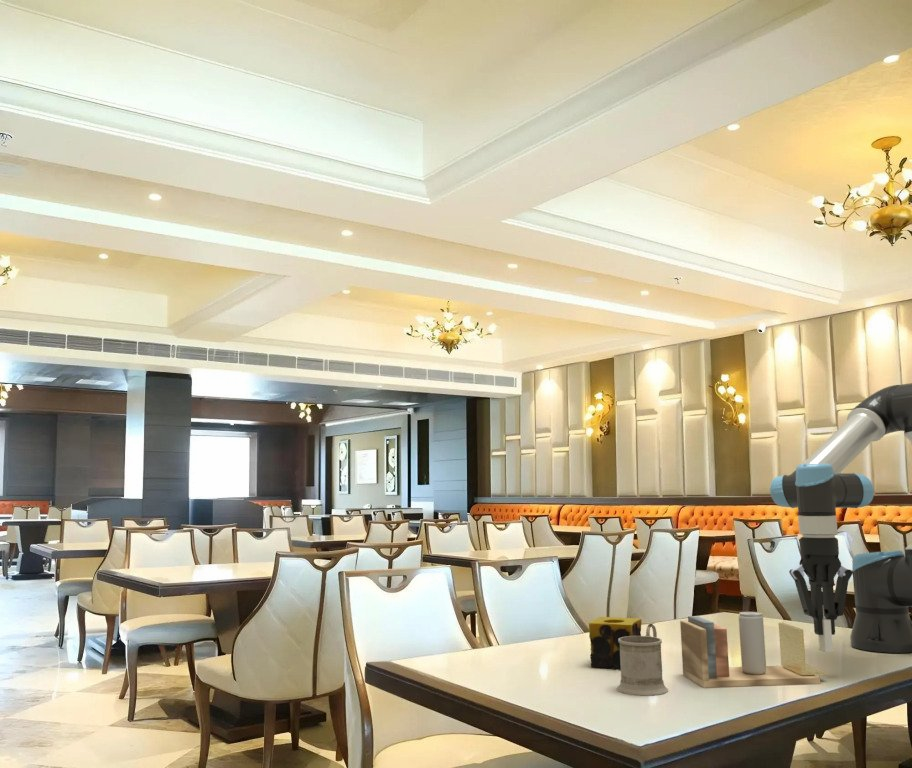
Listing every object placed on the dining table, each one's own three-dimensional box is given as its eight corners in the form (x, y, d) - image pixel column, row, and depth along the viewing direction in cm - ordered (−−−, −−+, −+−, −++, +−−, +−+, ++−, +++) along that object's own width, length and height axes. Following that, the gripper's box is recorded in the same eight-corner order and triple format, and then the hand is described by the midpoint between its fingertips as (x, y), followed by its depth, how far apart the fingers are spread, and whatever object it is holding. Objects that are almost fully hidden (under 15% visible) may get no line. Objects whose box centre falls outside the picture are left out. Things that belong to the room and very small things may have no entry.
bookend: (804, 665, 175) (801, 622, 177) (825, 674, 167) (822, 628, 168) (781, 666, 175) (778, 622, 176) (801, 675, 166) (798, 629, 167)
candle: (645, 662, 189) (642, 618, 190) (635, 671, 180) (633, 624, 181) (601, 659, 193) (599, 616, 194) (589, 668, 184) (588, 622, 185)
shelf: (792, 671, 177) (788, 612, 178) (820, 683, 165) (815, 621, 166) (683, 674, 175) (679, 615, 177) (703, 687, 163) (699, 624, 165)
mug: (658, 698, 156) (655, 632, 157) (609, 692, 161) (606, 629, 163) (681, 682, 168) (678, 622, 170) (635, 677, 173) (632, 619, 175)
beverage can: (755, 676, 167) (751, 615, 169) (736, 672, 171) (733, 612, 173) (771, 673, 169) (767, 613, 171) (753, 669, 173) (749, 611, 175)
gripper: (838, 535, 179) (846, 647, 176) (780, 535, 178) (787, 648, 175) (857, 536, 172) (866, 653, 168) (797, 537, 171) (804, 654, 167)
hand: (826, 650), depth 172 cm, fingers closed
